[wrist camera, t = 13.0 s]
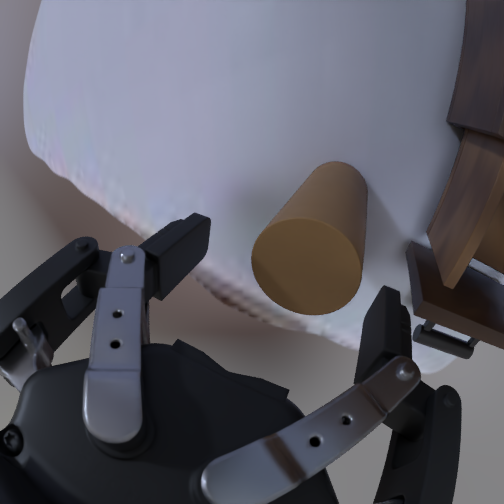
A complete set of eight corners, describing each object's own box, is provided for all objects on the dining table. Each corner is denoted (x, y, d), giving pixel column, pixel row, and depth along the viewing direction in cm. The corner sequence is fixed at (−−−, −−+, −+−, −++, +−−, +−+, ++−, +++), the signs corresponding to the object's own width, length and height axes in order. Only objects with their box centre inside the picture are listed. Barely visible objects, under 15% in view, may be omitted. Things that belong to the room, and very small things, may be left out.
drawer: (475, 326, 20) (488, 388, 14) (384, 290, 23) (381, 356, 17) (559, 168, 10) (611, 200, 4) (462, 97, 13) (509, 96, 7)
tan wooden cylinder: (300, 208, 24) (243, 292, 14) (315, 152, 21) (262, 200, 11) (355, 228, 22) (336, 329, 13) (375, 174, 20) (380, 243, 10)
